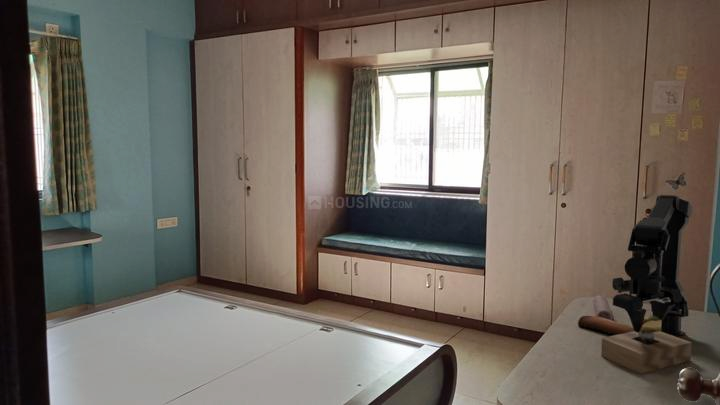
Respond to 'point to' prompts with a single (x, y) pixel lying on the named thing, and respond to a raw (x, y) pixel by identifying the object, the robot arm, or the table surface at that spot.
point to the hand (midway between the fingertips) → (646, 329)
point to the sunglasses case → (604, 325)
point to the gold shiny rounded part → (649, 329)
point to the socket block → (646, 351)
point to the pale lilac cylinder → (602, 307)
